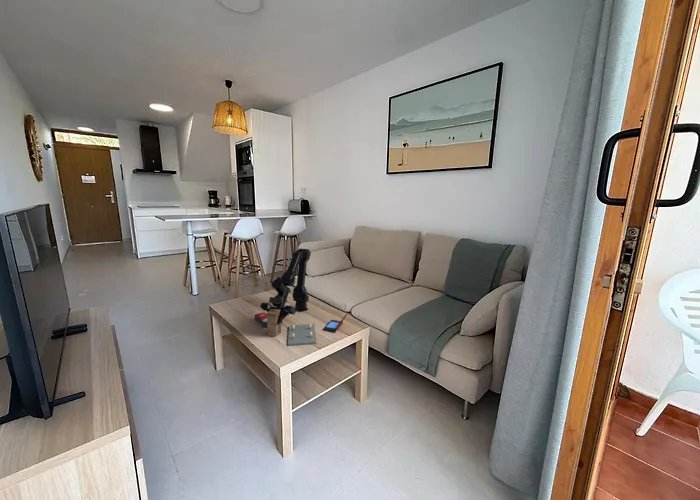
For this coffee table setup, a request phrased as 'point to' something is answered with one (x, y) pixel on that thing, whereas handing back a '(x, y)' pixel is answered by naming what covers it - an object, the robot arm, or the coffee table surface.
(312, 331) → the plate
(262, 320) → the grey and red box
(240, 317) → the coffee table surface
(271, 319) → the walnut block
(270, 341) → the coffee table surface
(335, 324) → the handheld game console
